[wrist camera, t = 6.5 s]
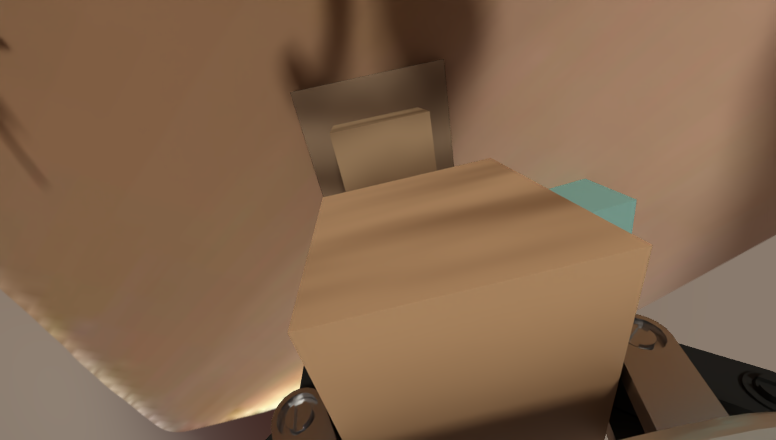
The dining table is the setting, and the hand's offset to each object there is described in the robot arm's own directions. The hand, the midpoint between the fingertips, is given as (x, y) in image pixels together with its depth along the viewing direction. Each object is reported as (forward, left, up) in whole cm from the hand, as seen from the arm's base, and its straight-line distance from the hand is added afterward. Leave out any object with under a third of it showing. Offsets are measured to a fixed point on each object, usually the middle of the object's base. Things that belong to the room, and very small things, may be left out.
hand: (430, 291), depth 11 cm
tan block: (0, 0, -1) cm, 1 cm away
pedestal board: (0, 0, -17) cm, 17 cm away
